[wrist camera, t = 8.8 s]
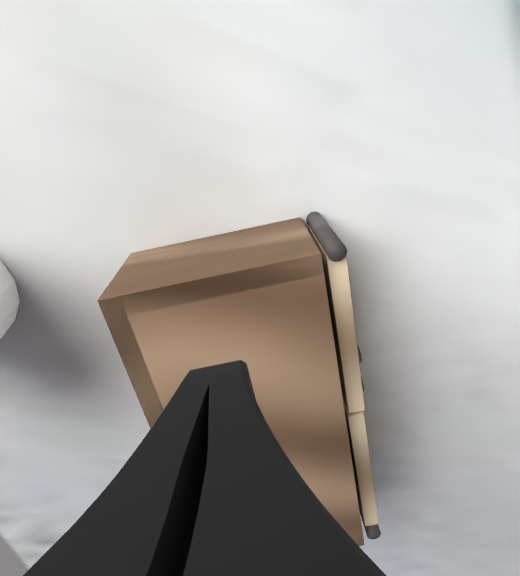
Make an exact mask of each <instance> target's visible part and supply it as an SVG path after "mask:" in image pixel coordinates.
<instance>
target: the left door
mask: <svg viewBox="0 0 520 576" xmlns="http://www.w3.org/2000/svg"><path fill="white" fill-rule="evenodd" d="M361 382H362V378H361ZM362 390H363V391H364V386H363V382H362ZM342 397H343V396H342ZM343 404H344V411H345V417H346V424H347V431H348V438H349V444H350V451H351V458H352V465H353V471H354V478H355V485H356V491H357V498H358V505H359V511H360V514H361V517H362V521H363V524H364V527H365V530H366V534H367V537H368V538H370V539H376V538H378V537H379V536H380V535H381V532H380V530H379V527H378V524H379V523H378V515H377V508H376V500H375V493H374V485H373V478H372V470H371V463H370V455H369V448H368V441H367V433H366V426H365V418H364V413H363V411H358V412H353V413H349V412H348V409H347V406H346V404H345V401H344V398H343Z"/></svg>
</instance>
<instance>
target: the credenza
mask: <svg viewBox="0 0 520 576" xmlns="http://www.w3.org/2000/svg"><path fill="white" fill-rule="evenodd" d="M306 221H307V224H308V225H309V226H308V228H309V232H308V230H307V228H306V227H305V225H304V223H303V221H302V220H301V218H295V219H290V220H286V221H281V222H276V223H272V224H267V225H262V226H258V227H253V228H248V229H244V230H239V231H234V232H230V233H225V234H220V235H216V236H211V237H206V238H202V239H197V240H192V241H188V242H183V243H178V244H173V245H169V246H164V247H159V248H155V249H150V250H145V251H141V252H136V253H131V254H130V256H129V257H128V259H127V260H126V261H125V263H124V264H123V266H122V267H121V268H120V270H119V271H118V273H117V274H116V275H115V277H114V278H113V280H112V281H111V282H110V284H109V285H108V287H107V288H106V289H105V291H104V292H103V294H102V295H101V296H100V298H99V299H98V303H99V306H100V308H101V310H102V313H103V315H104V318H105V320H106V322H107V325H108V327H109V330H110V332H111V334H112V337H113V339H114V342H115V344H116V346H117V349H118V351H119V354H120V356H121V358H122V361H123V363H124V366H125V368H126V370H127V373H128V375H129V378H130V380H131V382H132V385H133V387H134V390H135V392H136V395H137V397H138V399H139V402H140V404H141V407H142V409H143V411H144V414H145V416H146V419H147V421H148V423H149V426H150V428H152V426H153V425H154V423H155V422H156V421H157V419H158V418H159V416H160V415H161V413H162V412H163V410H164V409H165V407H166V406H167V404H168V402H169V401H170V399H171V398H172V396H173V395H174V393H175V392H176V390H177V388H178V387H179V385H180V384H181V382H182V381H183V379H184V378H185V376H186V375H187V373H188V372H189V371H190V370H193V369H198V368H203V367H208V366H213V365H218V364H223V363H228V362H233V361H238V360H242V361H244V362H245V363H247V367H248V371H249V375H250V379H251V382H252V386H253V390H254V394H255V398H256V401H257V404H258V406H259V408H260V410H261V412H262V414H263V416H264V418H265V420H266V422H267V424H268V426H269V427H270V429H271V431H272V433H273V434H274V436H275V438H276V439H277V441H278V443H279V444H280V446H281V448H282V449H283V451H284V452H285V454H286V455H287V457H288V458H289V460H290V461H291V463H292V464H293V466H294V467H295V469H296V470H297V471H298V473H299V474H300V476H301V477H302V478H303V480H304V481H305V483H306V484H307V485H308V486H309V488H310V489H311V490H312V492H313V493H314V494H315V496H316V497H317V498H318V499H319V501H320V502H321V503H322V505H323V506H324V507H325V508H326V509H327V510H328V512H329V513H330V514H331V515H332V516H333V517H334V519H335V520H336V521H337V522H338V523H339V524H340V525H341V527H342V528H343V529H344V530H345V531H346V532H347V534H348V535H349V536H350V537H351V538H352V539H353V541H354V542H355V543H356V544H357V545H358V546H362V545H364V539H363V532H362V525H361V518H360V512H359V505H358V498H357V491H356V485H355V478H354V471H353V465H352V458H351V451H350V444H349V438H348V431H347V424H346V417H345V411H344V404H343V398H344V401H345V404H346V406H347V409H348V412H349V413H353V412H358V411H363V410H365V406H364V398H363V390H362V382H361V373H360V365H359V363H361V362H362V359H361V353H360V350H359V347H358V345H357V340H356V332H355V324H354V316H353V307H352V299H351V291H350V283H349V274H348V266H347V258H346V254H347V249H346V247H345V246H344V244H343V243H342V242H341V240H340V239H339V238H338V237H337V235H336V234H335V233H334V232H333V230H332V229H331V228H330V226H329V225H328V224H327V223H326V221H325V220H324V219H323V217H322V216H321V215H320V214H319V213H318V212H311V213H310V214H309V215H308V216H307V219H306ZM342 396H343V397H342Z"/></svg>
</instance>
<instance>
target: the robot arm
mask: <svg viewBox="0 0 520 576" xmlns="http://www.w3.org/2000/svg"><path fill="white" fill-rule="evenodd" d="M23 576H386V575H385V574H384V573H383V572H382V571H381V570H380V569H379V568H378V566H377V565H376V564H375V563H374V562H373V561H372V560H371V559H370V558H369V557H368V556H367V555H366V554H365V553H364V552H363V551H362V550H361V549H360V547H359V546H358V545H357V544H356V543H355V542H354V541H353V539H352V538H351V537H350V536H349V535H348V534H347V532H346V531H345V530H344V529H343V528H342V527H341V525H340V524H339V523H338V522H337V521H336V520H335V519H334V517H333V516H332V515H331V514H330V513H329V512H328V510H327V509H326V508H325V507H324V506H323V505H322V503H321V502H320V501H319V499H318V498H317V497H316V496H315V494H314V493H313V492H312V490H311V489H310V488H309V486H308V485H307V484H306V483H305V481H304V480H303V478H302V477H301V476H300V474H299V473H298V471H297V470H296V469H295V467H294V466H293V464H292V463H291V461H290V460H289V458H288V457H287V455H286V454H285V452H284V451H283V449H282V448H281V446H280V444H279V443H278V441H277V439H276V438H275V436H274V434H273V433H272V431H271V429H270V427H269V426H268V424H267V422H266V420H265V418H264V416H263V414H262V412H261V410H260V408H259V406H258V404H257V401H256V398H255V394H254V390H253V386H252V382H251V379H250V375H249V371H248V367H247V363H245V362H244V361H242V360H238V361H233V362H228V363H223V364H218V365H213V366H208V367H203V368H198V369H193V370H190V371H189V372H188V373H187V375H186V376H185V378H184V379H183V381H182V382H181V384H180V385H179V387H178V388H177V390H176V392H175V393H174V395H173V396H172V398H171V399H170V401H169V402H168V404H167V406H166V407H165V409H164V410H163V412H162V413H161V415H160V416H159V418H158V419H157V421H156V422H155V423H154V425H153V426H152V428H151V429H150V431H149V432H148V434H147V435H146V437H145V438H144V439H143V441H142V442H141V444H140V445H139V446H138V448H137V449H136V450H135V452H134V453H133V454H132V456H131V457H130V458H129V460H128V461H127V462H126V464H125V465H124V466H123V468H122V469H121V470H120V472H119V473H118V474H117V475H116V477H115V478H114V479H113V480H112V481H111V483H110V484H109V485H108V486H107V487H106V489H105V490H104V491H103V492H102V493H101V495H100V496H99V497H98V498H97V499H96V500H95V501H94V502H93V504H92V505H91V506H90V507H89V508H88V509H87V510H86V511H85V513H84V514H83V515H82V516H81V517H80V518H79V519H78V520H77V521H76V523H75V524H74V525H73V526H72V527H71V528H70V529H69V530H68V531H67V532H66V533H65V534H64V535H63V536H62V537H61V538H60V539H59V540H58V541H57V542H56V543H55V544H54V545H53V546H52V547H51V548H50V549H49V550H48V551H47V552H46V553H45V554H44V555H43V556H42V557H41V558H40V559H39V560H38V561H37V562H36V563H35V564H34V565H33V566H32V567H31V568H30V569H29V570H28V571H27V572H26V573H25V574H24V575H23Z"/></svg>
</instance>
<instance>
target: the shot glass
mask: <svg viewBox="0 0 520 576" xmlns="http://www.w3.org/2000/svg"><path fill="white" fill-rule="evenodd" d="M19 304H20V300H19V295H18V291H17V286H16V282H15V280H14V278H13V277H12V275H11V274H10V272H9V271H8V269H7V268H6V267H5V265H4V264H3V262H2V261H1V260H0V339H1V338H2V337H3V335H4V334H5V333H6V331H7V330H8V329H9V328H10V326H11V325H12V324H13V322H14V321H15V319H16V315H17V311H18V307H19Z"/></svg>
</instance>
